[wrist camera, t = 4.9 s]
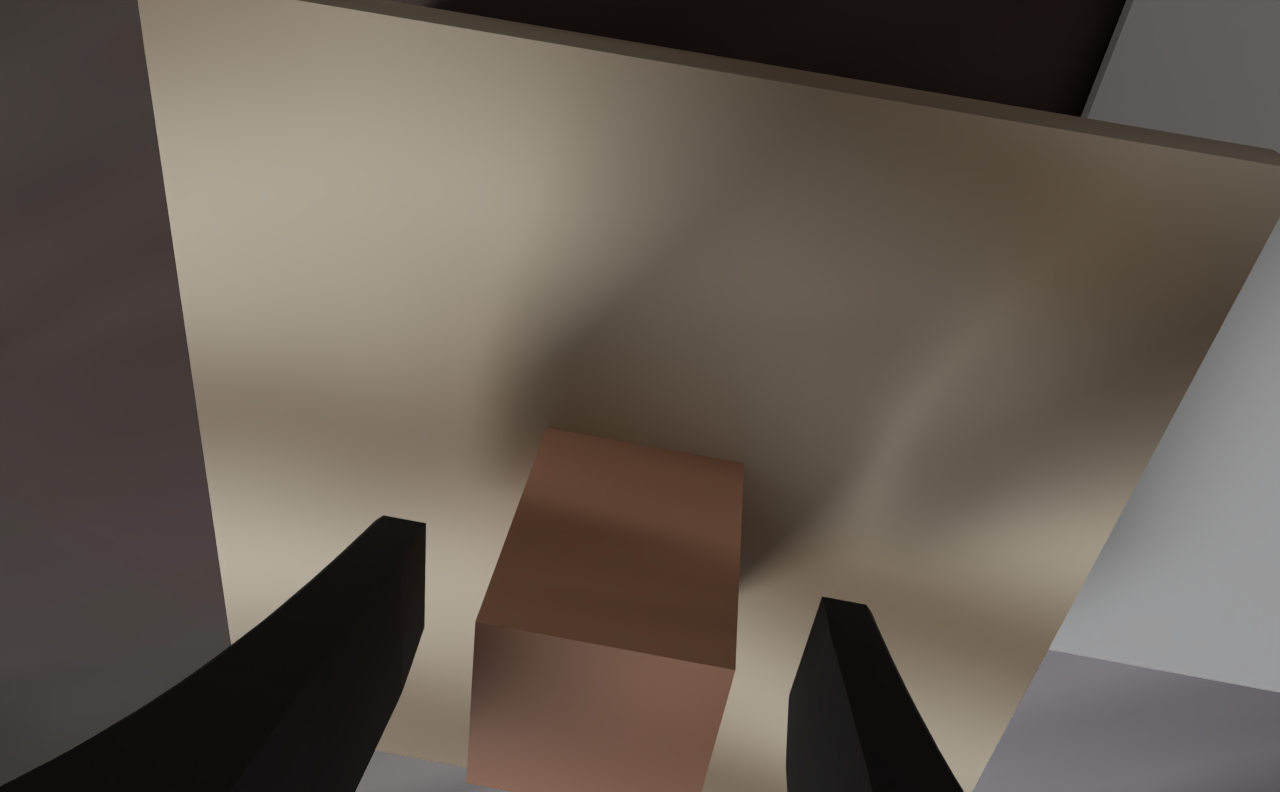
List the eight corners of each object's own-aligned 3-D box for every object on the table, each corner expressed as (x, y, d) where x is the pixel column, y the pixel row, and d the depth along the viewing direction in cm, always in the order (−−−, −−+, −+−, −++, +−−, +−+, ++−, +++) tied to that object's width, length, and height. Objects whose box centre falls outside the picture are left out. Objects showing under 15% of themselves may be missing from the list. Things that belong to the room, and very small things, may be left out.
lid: (931, 820, 19) (974, 1093, 15) (261, 693, 19) (126, 924, 15) (1273, 149, 11) (1546, 330, 7) (169, -37, 12) (-141, 39, 8)
